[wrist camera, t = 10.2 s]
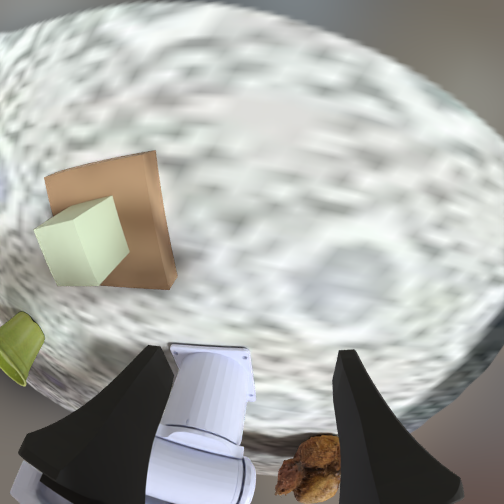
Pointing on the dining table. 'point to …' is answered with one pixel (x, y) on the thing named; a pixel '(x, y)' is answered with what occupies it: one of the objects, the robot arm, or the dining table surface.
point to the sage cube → (83, 243)
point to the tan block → (125, 214)
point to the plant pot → (19, 346)
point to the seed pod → (312, 470)
